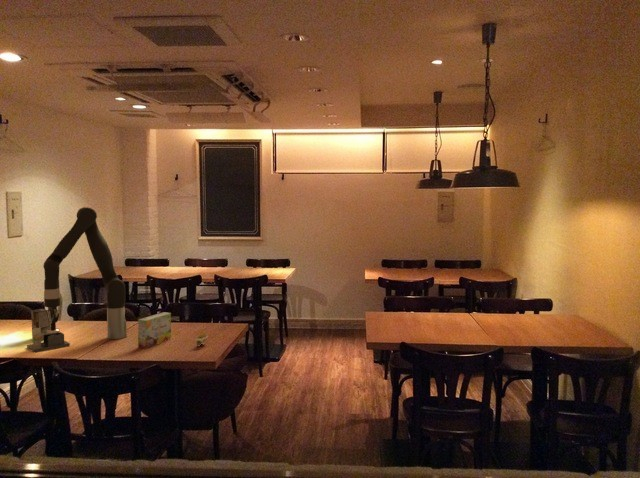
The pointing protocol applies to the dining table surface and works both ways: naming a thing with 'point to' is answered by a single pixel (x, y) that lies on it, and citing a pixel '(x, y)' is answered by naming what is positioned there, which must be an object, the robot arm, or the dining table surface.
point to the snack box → (154, 329)
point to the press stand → (47, 341)
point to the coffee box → (40, 321)
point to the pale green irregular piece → (201, 339)
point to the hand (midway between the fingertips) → (53, 329)
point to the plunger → (50, 332)
